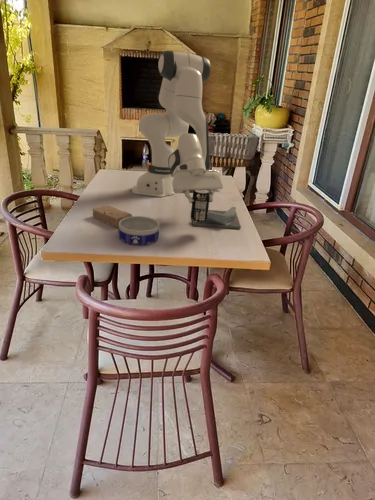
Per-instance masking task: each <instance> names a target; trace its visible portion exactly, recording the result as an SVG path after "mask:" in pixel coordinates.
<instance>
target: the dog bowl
mask: <svg viewBox="0 0 375 500" xmlns="http://www.w3.org/2000/svg"><path fill="white" fill-rule="evenodd" d="M160 225H161V224H160V222H159V221H158V220H156V219H155V218H153V217H149V216H145V215H143V216H142V215H132V217H126V218H124V219H122V220H120V221H119V227H118V239H119V240H120V241H121V242H122V243H124V244H125V245H126V244H127V245H130V246H135V247H136V246H137V247H138V246H139V247H140V246H142V247H143V246H149V245H152V244H155V243H156V242H158V241H159V238H160Z"/></svg>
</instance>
